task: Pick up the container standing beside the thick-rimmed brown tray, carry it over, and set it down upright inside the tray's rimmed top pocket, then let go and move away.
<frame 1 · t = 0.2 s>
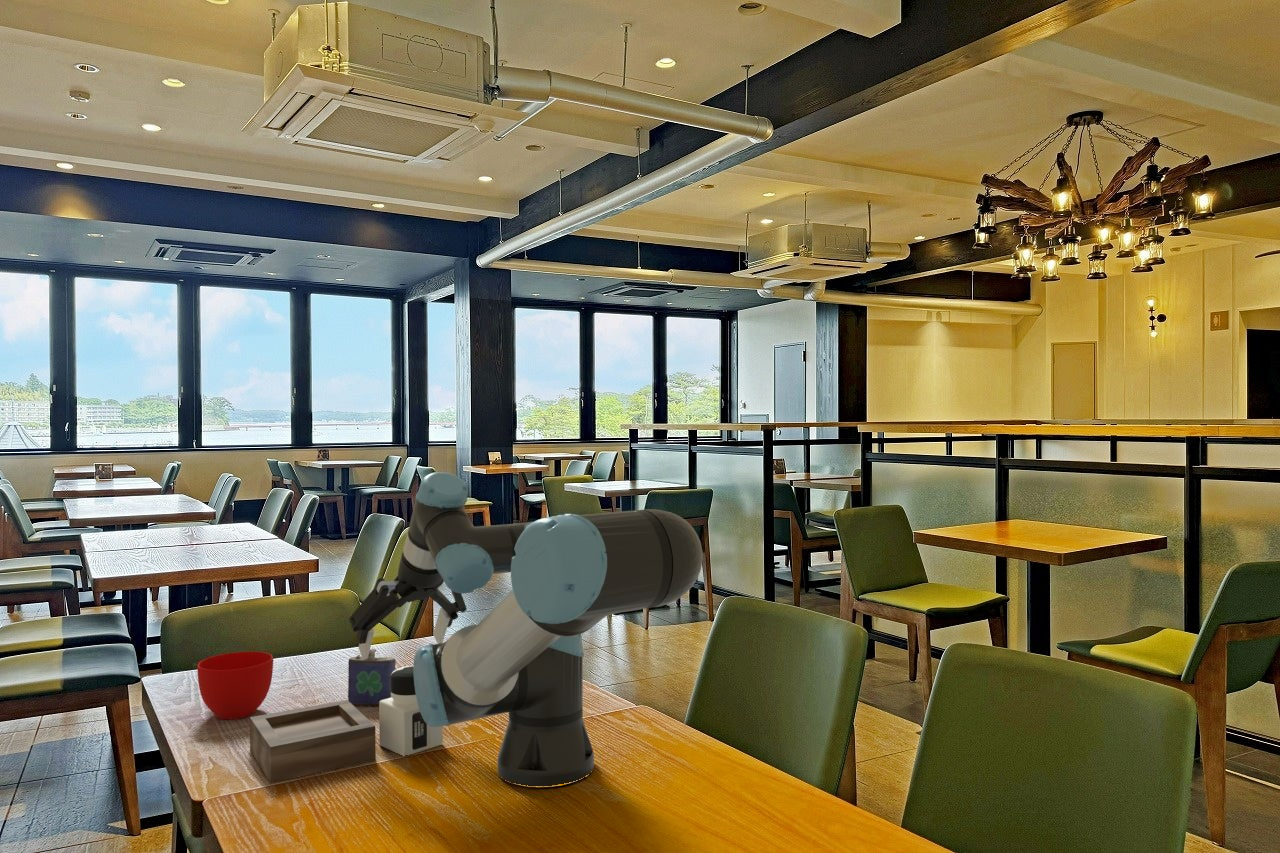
hand: (401, 646, 155), 15 cm above the table, tool tilted 35°, fingers open, 13 cm apart
container: (411, 746, 149), on the table
ceramic cup: (232, 712, 166), on the table
thick-rimmed brown tray: (311, 754, 145), on the table
flask: (371, 705, 170), on the table
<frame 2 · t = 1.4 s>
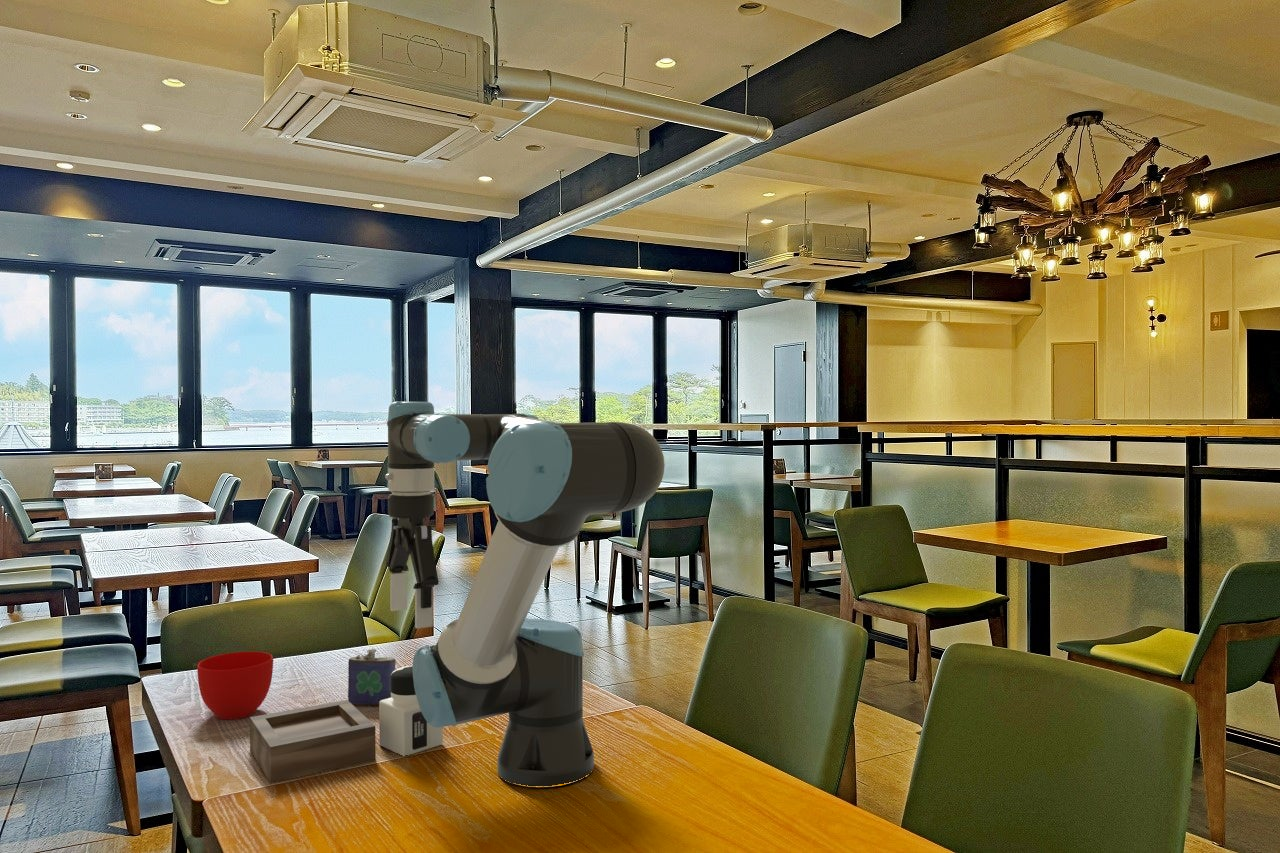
hand: (410, 618, 149), 21 cm above the table, tool pointing down, fingers open, 13 cm apart
nothing on the table moved.
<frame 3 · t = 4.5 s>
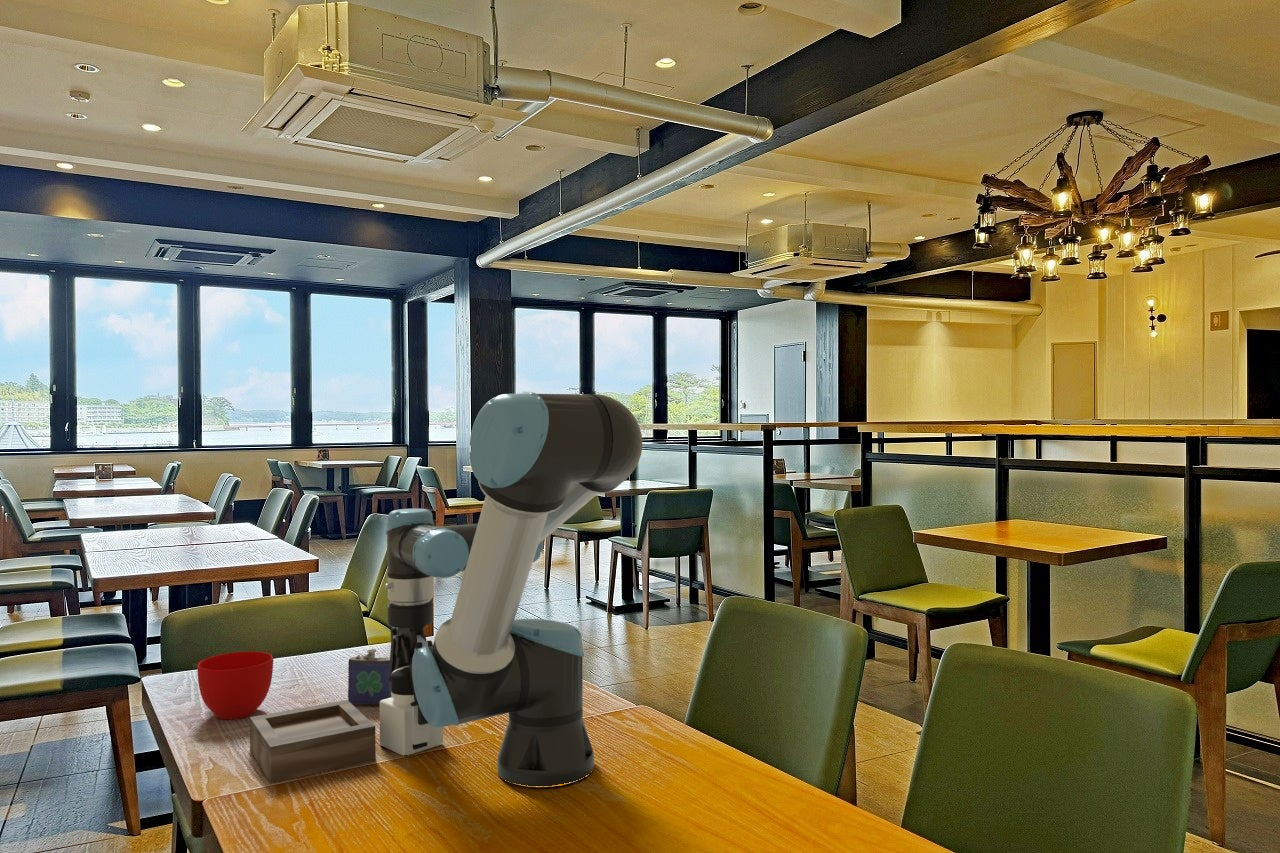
hand: (411, 733, 149), 2 cm above the table, tool pointing down, fingers closed on container, 9 cm apart
container: (411, 746, 149), on the table, touching gripper
everything else where it was.
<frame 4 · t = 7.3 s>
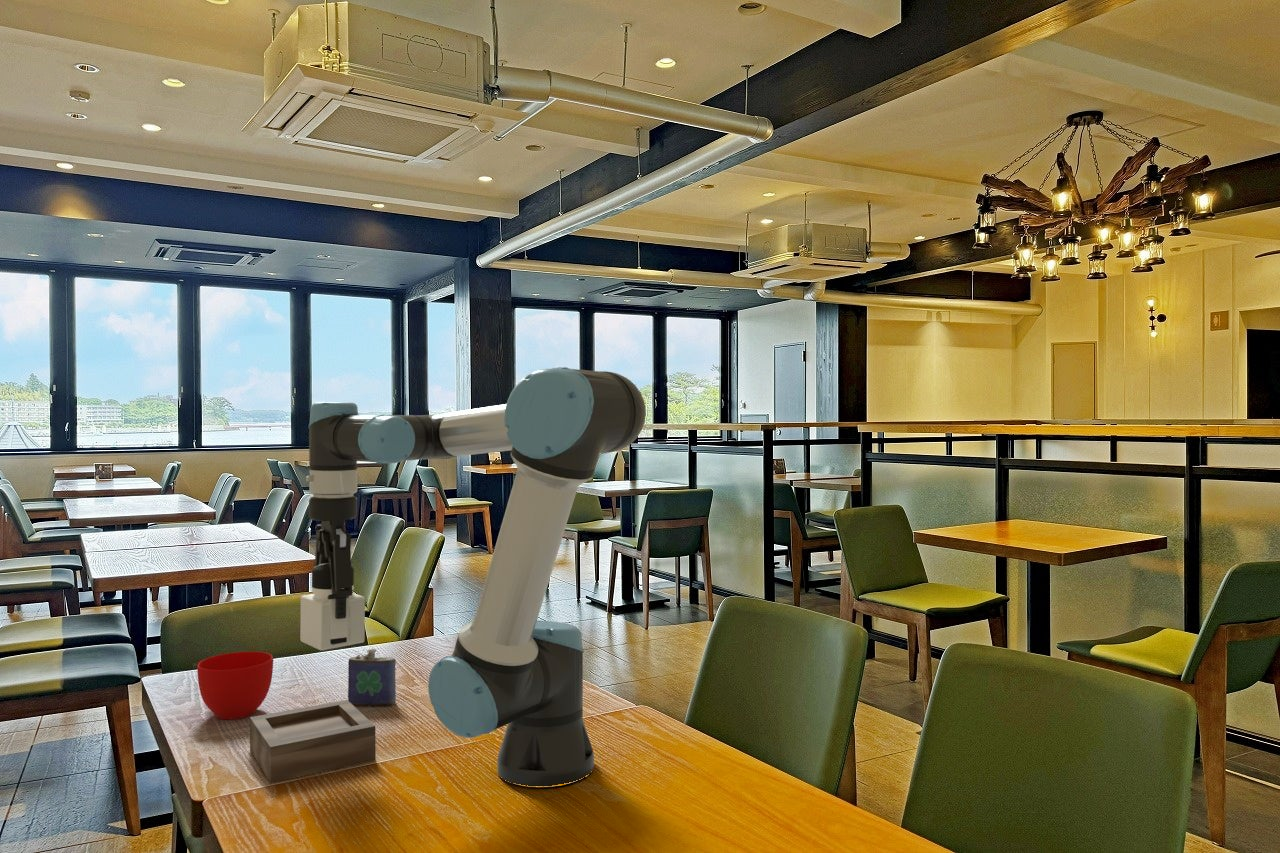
hand: (332, 631, 146), 20 cm above the table, tool pointing down, fingers closed on container, 9 cm apart
container: (332, 643, 146), point 18 cm above the table, touching gripper
everything else where it was.
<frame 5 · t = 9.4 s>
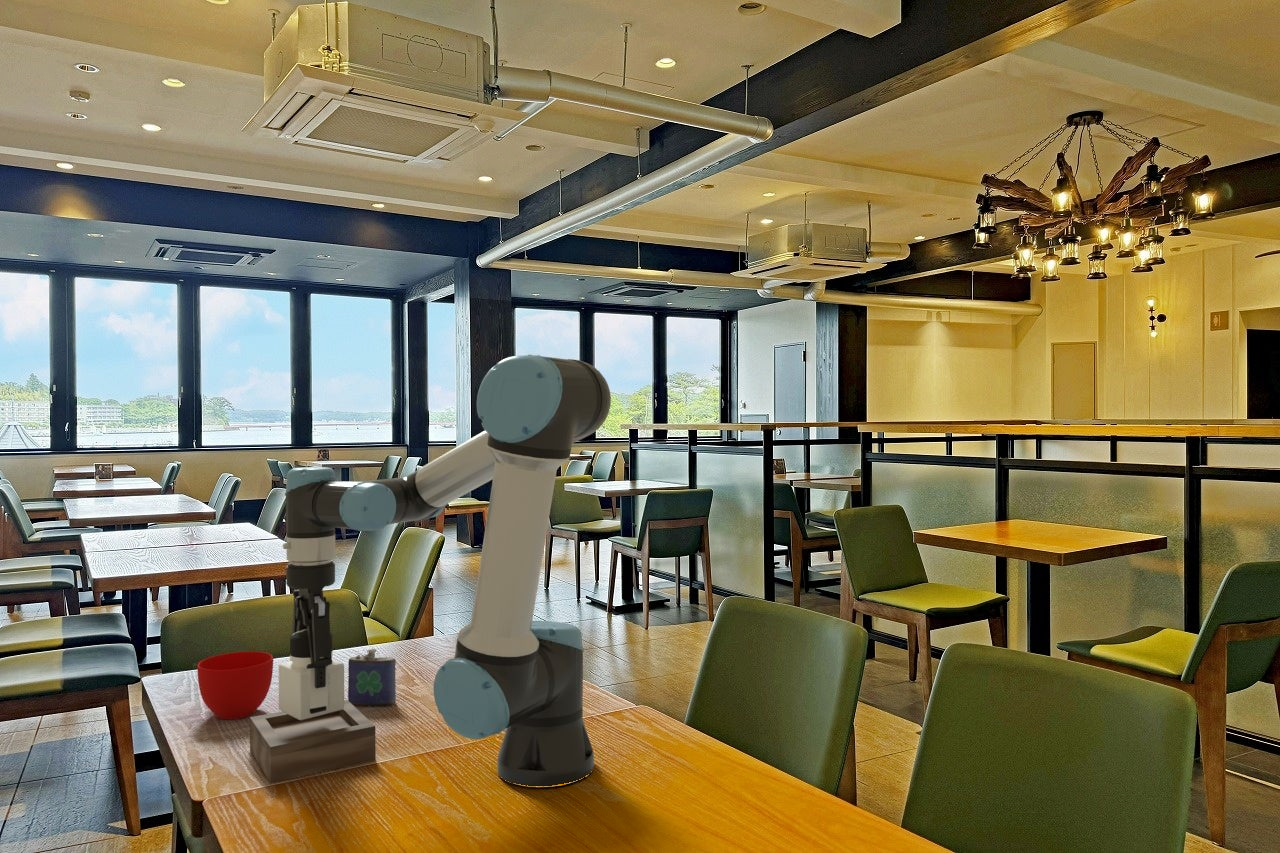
hand: (311, 698, 144), 9 cm above the table, tool pointing down, fingers closed on container, 9 cm apart
container: (311, 711, 145), point 7 cm above the table, touching gripper
everything else where it was.
when the fingers open (8 cm above the table, at t = 10.6 s): container drops 2 cm, resting on thick-rimmed brown tray.
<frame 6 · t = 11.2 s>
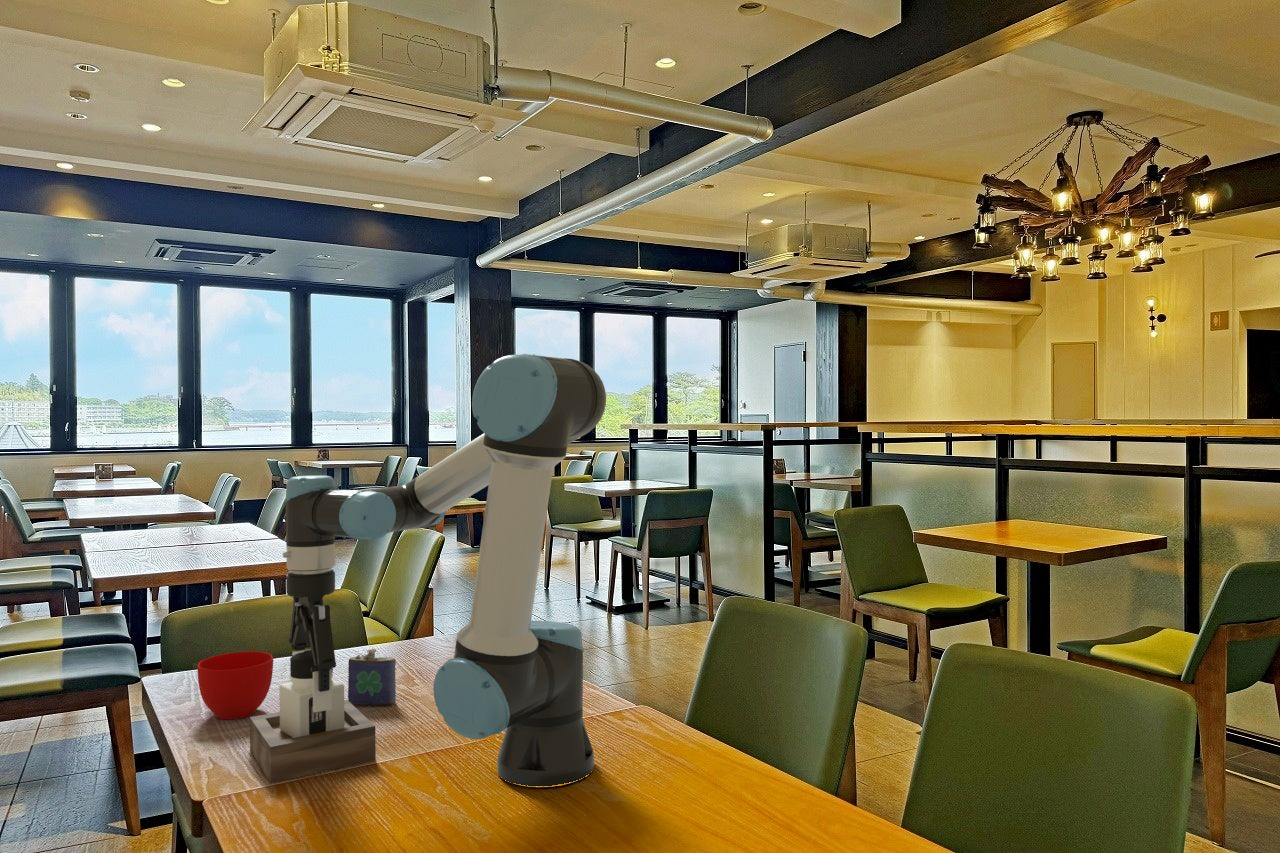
hand: (311, 699, 144), 9 cm above the table, tool pointing down, fingers open, 13 cm apart
container: (312, 731, 145), point 4 cm above the table, touching thick-rimmed brown tray
everything else where it was.
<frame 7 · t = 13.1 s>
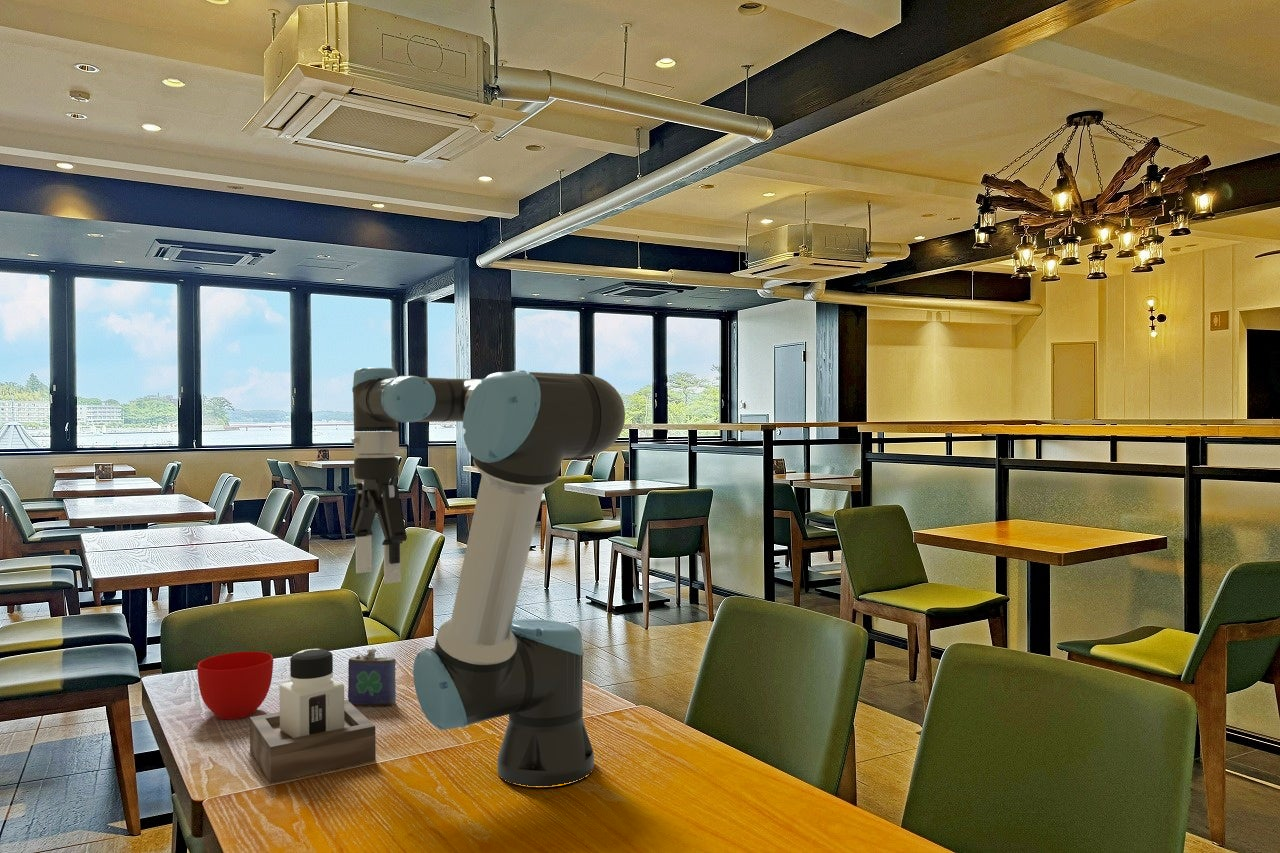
hand: (377, 577, 154), 27 cm above the table, tool pointing down, fingers open, 13 cm apart
nothing on the table moved.
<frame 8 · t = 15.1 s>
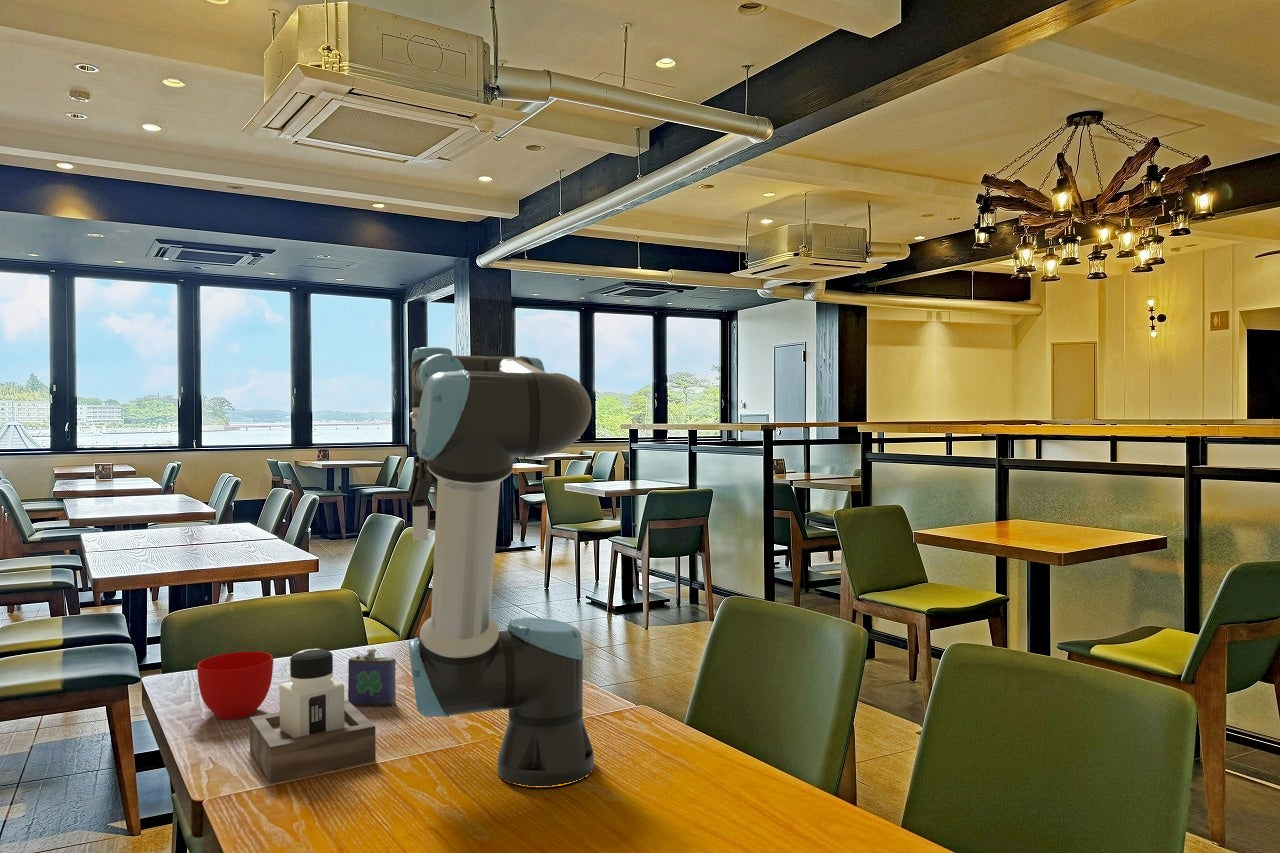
hand: (433, 544, 164), 32 cm above the table, tool pointing down, fingers open, 13 cm apart
nothing on the table moved.
at the end: container inside the target area on the thick-rimmed brown tray (0.1 cm from its centre), point 3.8 cm above the thick-rimmed brown tray's base; container tilted 0°; the gripper is holding nothing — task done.
